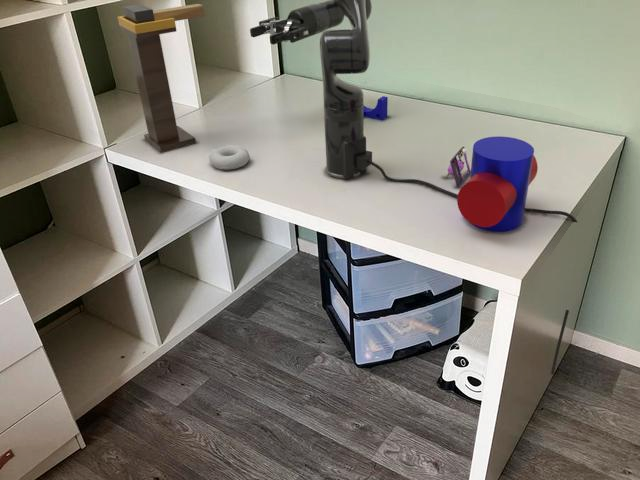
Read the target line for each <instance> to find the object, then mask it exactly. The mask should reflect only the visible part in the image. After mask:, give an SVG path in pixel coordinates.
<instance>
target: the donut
mask: <svg viewBox="0 0 640 480" xmlns="http://www.w3.org/2000/svg"><path fill="white" fill-rule="evenodd" d="M208 157H209V163H210V164H211V165H212V166H213V167H214V168H216V169H219V170H225V171H227V170H235V169H239V168H241V167H244V166H245V165H246V164H247V163H249V160H250V157H251V156H250V153H249V150H248V149H246V148H245V147H243V146H241V145H235V144H229V145H227V144H226V145H223V146H219V147H216V148H214V149H213V150H211V153H210V154H209V156H208Z"/></svg>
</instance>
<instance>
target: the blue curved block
mask: <svg viewBox="0 0 640 480" xmlns="http://www.w3.org/2000/svg"><path fill="white" fill-rule="evenodd" d="M388 101H389V100H388V96H386V95H385V96H384V95H383V96H381V97H379V98H377V103H376V105H375V107H373V108H371V107H367V106H366V105H364V117H366V118H370V119H373V120H379V121H384V120H385V119H386V118H388V107H389V106H388Z"/></svg>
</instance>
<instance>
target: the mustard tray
mask: <svg viewBox="0 0 640 480" xmlns="http://www.w3.org/2000/svg"><path fill="white" fill-rule="evenodd" d="M117 21H118V26H119V25H120V26H122V27H124V28H126V29H128V30H130V31H132V32H133V33H135V34H139V33H145V32H151V31H156V30H162V29H168V28H174V27H176V28H177V26H176V21H175V19H174V18H170V19H164V20H158V21H152V22H146V23H140V24H135V23H133V22H131V21H129V20H127V19H125V15H120V16H117ZM120 26H119V27H120Z"/></svg>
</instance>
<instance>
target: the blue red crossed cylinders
mask: <svg viewBox="0 0 640 480" xmlns="http://www.w3.org/2000/svg"><path fill="white" fill-rule="evenodd" d="M534 152H535V148H534V146H533V145H532V144H531V143H529V142H527V141H525V140H523V139H519V138H516V137H512V136H499V135H497V136H488V137H483V138H480V139H478V140H476V141H475V142H474V143H473V145H472V154H471V164H470V165H471V166H470V174H469V175H470V176H469V179H468V181H466V183H464V185H462V187H461V188H459V191H458V193H457V194H458V196H457V198H456V203H457V208H458V211H459V212H460V214H461V215H462V217H463V219H465V221H467V222H469V224H470V225H472V226H473V227H475V228H477V229H480V230H483V231H486V232H491V233H506V232H511V231H515V230H517V229H518V228H520V227H521V226H522V225H523V223H524V217H525V212H526V211H525V208H526V205H527V204H526V203H527V199H528V192H529V186H530V185H531V183H533V181H534V180H535V179H536V177H537V175H538V168H539V167H538V161H537V159H536V157H535V155H534Z"/></svg>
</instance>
